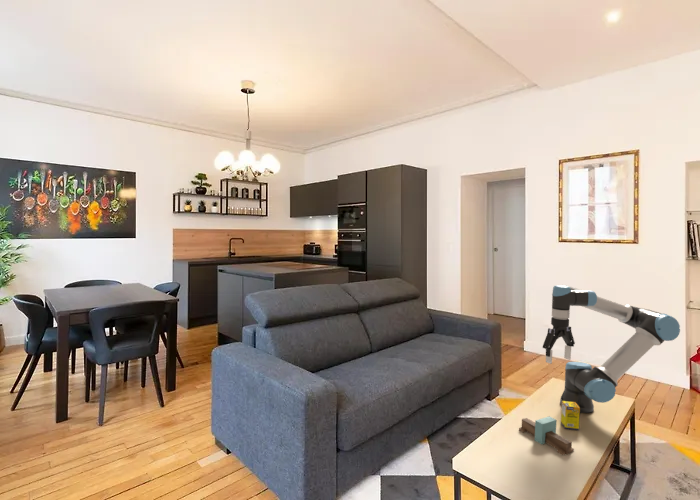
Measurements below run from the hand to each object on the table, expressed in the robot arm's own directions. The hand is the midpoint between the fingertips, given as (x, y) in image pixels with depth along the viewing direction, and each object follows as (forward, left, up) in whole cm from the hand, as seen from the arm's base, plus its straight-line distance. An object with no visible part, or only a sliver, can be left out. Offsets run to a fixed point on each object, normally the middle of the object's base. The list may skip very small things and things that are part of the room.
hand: (558, 360), depth 185 cm
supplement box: (+1, +8, -29) cm, 30 cm away
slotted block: (+22, +11, -29) cm, 38 cm away
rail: (+22, +11, -29) cm, 38 cm away
